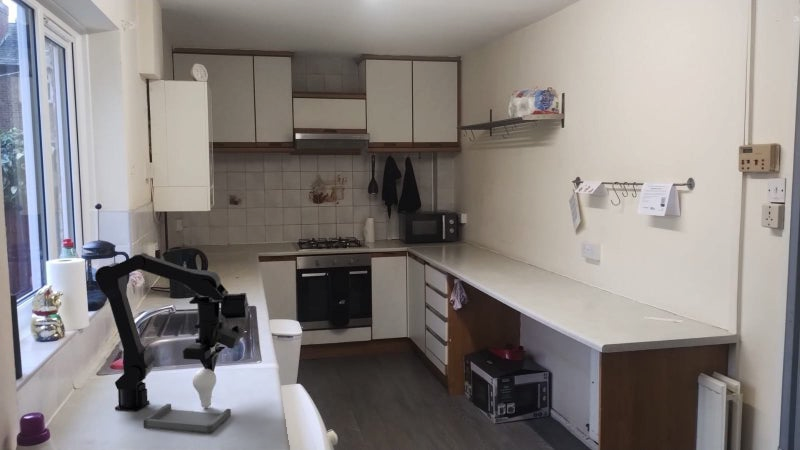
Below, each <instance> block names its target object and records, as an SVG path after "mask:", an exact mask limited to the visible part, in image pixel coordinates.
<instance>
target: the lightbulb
mask: <svg viewBox="0 0 800 450" xmlns="http://www.w3.org/2000/svg"><path fill="white" fill-rule="evenodd" d="M216 383H217V375H216V374H215V371H214V372H213V371H212V370H210V369H205V368H201V369H198V371H196V372H195V373H194V374H193V376H192V386H193V388H194V389H195V391H196V392H197V394H198V397H199V401H200V406H201V407H202V408H204V409H207V408H210V407H211V405H212V398H213V396H212V394H213V390H214V387H215V386H216Z"/></svg>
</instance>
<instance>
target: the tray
mask: <svg viewBox="0 0 800 450" xmlns="http://www.w3.org/2000/svg"><path fill="white" fill-rule="evenodd" d="M231 411H232V410H231V408H226V409H225V410H224V411H222V412H221V413H218V412H217V413H216V412H205V411H193V410H184V409H183V410H181V409H180V410H179V409H172V403H167V404H165V405H163V406H162V407H160V408H159V409H157V410H156V411H154V412H153V413H152V414H150V415H148V416H147V417H146V418H144V419H142V420H143V422H142V423H143V428H144V429H151V428H152V429H153V430H163V431H174V432H184V433H185V432H186V433H196V434H197V433H198V434H205V435H206V434H208V435H212V433H214V432H215V431H216V430H217V429H219V427H220V426H222V425H223V424H224V423H225V422H226V421H227V420H229V418H231V417H232V412H231Z"/></svg>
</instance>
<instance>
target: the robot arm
mask: <svg viewBox="0 0 800 450" xmlns="http://www.w3.org/2000/svg"><path fill="white" fill-rule="evenodd" d="M138 270H140V271H144V272H147V273H149V274H152V275H156V276H158V277H161V278H165V279H168V280H170V281H173V282H176V283H179V284H182V286H183V285H184V286H185V287H186V288H188V289H189V290H190V291H192V292H194V293H195V295H194V296H193V298H192V299H191V300H189V303H188V304H190V305H197V323H195V324H194V328H195V329H198V330H197V331H198V336H197V338H195V343H194V344H193V343H192V344H190V345H189V346H187V347H185V348H184V349H183V351H182V359H184V360H196V361H200V363H201V365H202V367H203V369H210V370H212V371H213V372H214V373H215V368H216V365H217V363H218V362H217V361H218V358H219V355H220V354H221V353H222V352H223V350H225V349H226V347H227V348H228V349H233V350H234V348H235V347H237V346H239V344H240V341H241V339H242V338H243V332H242V331H243V330H242V326H241V325H238V324H236V325H234V326H233V327H226V326H225V322H224V320H221V315H222V317H223V318H224V319H228V320H229V319H231V320H233V319H236V320H237V319H248V317H249V310H250V309H249V303H248V302H249V301H248V297H247V293H246V292H241V293H229V291H228V290H227V288H225V287H224V285H223V283H221V278H220V275H219V274H218V273H216V272H214V271H211V270H203V269H193V268H188V267H185V266H181V265H178V264H176V263H172V262H169V261H167V260H164V259H161V258H157V257H155V256H151V255H149V254H148V253H145V252H139V253H137V254H134V255H132V257H130V258H128V259H126V260H124V261H122V262H121V261H120V262H114V261H113V262H110V263H108V264H105V265H102V266H100V267H99V268H98V269H97V270H96V272H95V274H94V280H95V282H96V285H97V286H98V288H99V290H100V291H101V293H102V294H103V295H104V296H105V297H106V299H107V300H108V303H109V305H110V309H111V313H112V316H113V319H114V323H115V327H116V329H117V332H118V336H119V339H120V342H121V346H122V348H123V353H122V355H123V356H122V369H123V374H121V376H120V377H119V378H118V379H117V380H116V381H115V382H114V385H115V386H116V389H117V392H118V393H117V396H118V400H117V401H118V405H116V406H115V407H114V410H120V411H131V412H138V411H139V410H141V409H142V408H143V407H145V406H146V405H148V404H149V403H150V400H149V399H148V389H147V386H146V382H143V381H144V380H145V379H147V376H148V374H150V373H151V372H152V370H153V368H154V362H155V361H156V358H155V357H154V356H153V351H152V347H151V346H149V347H147V348H146V347H145V346H144V344H142V342H141V338H140V335H139V332H138V331H139V330H138V328H137V325H136V321H135V318H134V315H133V312H132V309H131V305H130V301H129V298H128V294H127V289H128V276H127V275H130V274H131V273H133V272H136V271H138ZM221 345H222V346H221Z"/></svg>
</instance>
